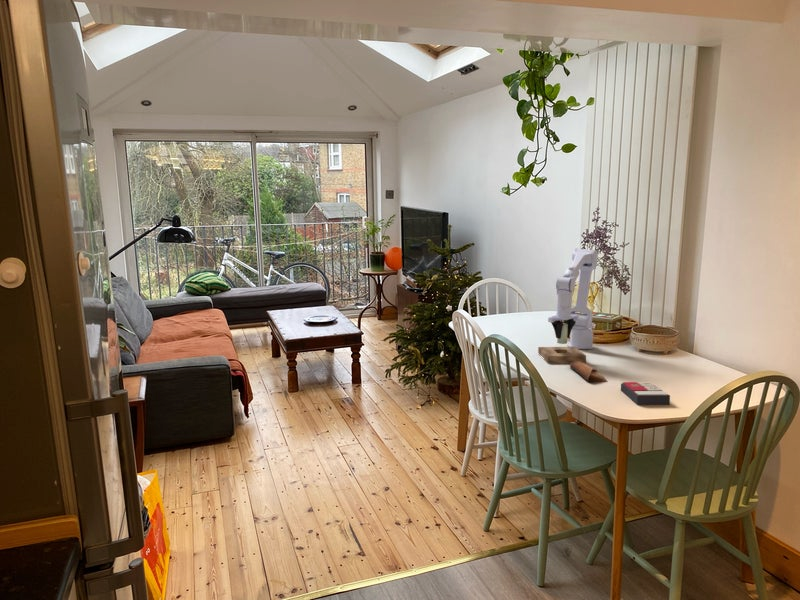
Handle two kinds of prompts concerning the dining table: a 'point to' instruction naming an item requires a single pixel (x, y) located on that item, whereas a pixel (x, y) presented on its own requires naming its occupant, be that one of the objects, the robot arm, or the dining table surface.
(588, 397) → the dining table surface
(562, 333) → the peg
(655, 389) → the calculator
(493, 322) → the dining table surface
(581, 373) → the brown pointed cylinder
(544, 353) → the peg board
